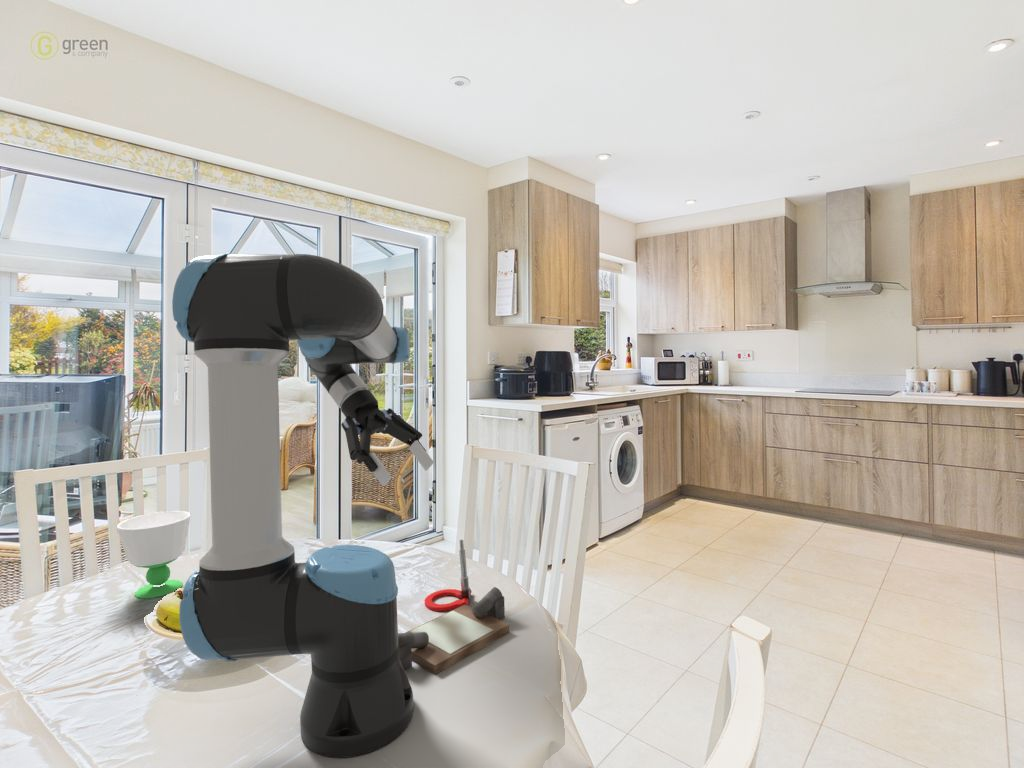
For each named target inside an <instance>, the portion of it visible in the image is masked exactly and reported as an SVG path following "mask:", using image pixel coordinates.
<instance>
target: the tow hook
mask: <svg viewBox="0 0 1024 768" xmlns="http://www.w3.org/2000/svg"><path fill="white" fill-rule="evenodd" d="M464 546H465V545H464V539H459V550H458V552H459V564H460V566H459V567H460V586H461V590H460V589H455V588H454V589H453V588H450V589H449V588H448V589H441V590H437V591H434V592H432V593H430V594H429V595H427V596H426V597H425V599H424V607H425V608H427V610H430V611H436V612H446V611H447V612H448V611H452V610H454V609H456V608H458V607H460V606H463V605H465V604H466V605H468V606H469V603H470V601H471V596H472V589H471V588H470V584H469V583H470V582H469V576H468V569H467V558H466V557H467V556H466V550H465V547H464ZM445 596H453V597H456V598H458V599H456V600H454V601H452V602H449V603H442V604H441V603H435V602H434V600H436V599H438V598H441V597H445Z"/></svg>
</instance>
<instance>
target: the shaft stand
mask: <svg viewBox="0 0 1024 768" xmlns="http://www.w3.org/2000/svg"><path fill="white" fill-rule="evenodd" d="M505 610H506V608H505V596H503V593H502V591H501V590H500V589H499V588H498V587H496V586H494V587H492V588H491V589H490V590H489V591H488V592H487V593H486V594H485V595H484V596H483V597H482V598H481V599H480V600H479V601H478V602H477V603H476V604H475V605H474V606H472V607H471V606H470V605H469V604H468V605H466V604H465V605H463V606H460V607H458V608H455V609H452V610H449V611H447V612H445V613H444V614H441V615H439V616H438V617H436V618H432V619H430V620H429V621H426V622H425V623H423V624H421V625H418V626H417V627H414V628H412V629H410V630H408V631H405V632H398V645H399V658H400V660H401V663H402V665H403V668H404V670H405V671H407V670H408V669H410V668H412V667H413V662H414V663H415V664H417V665H419V666H420V667H422V668H423V669H426V670H427V671H429V672H430V673H432V674H434V675H437V674H439V673H440V672H443V671H444V670H446V669H447V668H449V667H451V666H452V665H455V664H456V663H459V662H460V661H462V660H464V659H465V658H467V657H469V656H470V655H472V654H474V653H476V652H478V651H479V650H481V649H483V648H485V647H486V646H488V645H489V644H492V643H493V642H495V641H497V640H499V639H501V638H502V637H504V636H505V635H507V634H509V633H510V632H511V631H510V624H509V623H508V622H505V621H502V619H504V618H505V616H506V614H505V612H506V611H505Z"/></svg>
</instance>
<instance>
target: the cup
mask: <svg viewBox="0 0 1024 768" xmlns="http://www.w3.org/2000/svg"><path fill="white" fill-rule="evenodd" d="M165 511H166V513H165V512H164V511H157V512H151V513H145V514H142V515H141V514H140V515H137V516H133V517H130V518H127V519H124V520H122V521H121V522H119V523H118V524H117V526H116V530H117V533H118V536H119V539H120V542H121V545H122V547H123V551H124V554H125V558H126V560H127V562H129V563H130V565H132V566H135V567H137V568H144V569H147V571H146V575H145V579H146V582H147V583H149V584H147V585H144V586H141V587H139V589H137V590H136V591H134V597H136V598H138V599H145V600H146V599H154V598H160V597H164V596H168V595H169V594H172V593H174V591H175V590H176V589H178V588H180V589H181V588H182V587H183V586H184V585H183V584H184V583H183V581H181V580H179V579H177V580H176V579H169V578H170V577H171V569H170V567H169V566H168V564H171V563H173V562H174V561H176V560H177V559H178V558H179V557H181V556H182V555H183V553H184V551H185V549H186V543H187V537H188V531H189V525H190V520H191V513H190V512H189V511H185V510H165ZM163 583H165V585H163V586H160V587H153V585H161V584H163ZM175 592H176V591H175Z"/></svg>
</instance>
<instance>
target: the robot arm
mask: <svg viewBox="0 0 1024 768" xmlns="http://www.w3.org/2000/svg"><path fill="white" fill-rule="evenodd" d="M171 303H172V305H171V306H172V308H171V309H172V317H173V321H175V322H176V325H175V326H176V331H178V333H179V335H180V337H182V338H183V339H184V340H186V341H187V342H190V343H193V350H194V351H193V352H194V355H195V356H196V357H197V358H199V360H200V361H202V362H203V363H204V364H205V365H206V367H207V385H208V388H207V389H208V424H209V425H208V426H209V429H208V430H209V467H210V468H209V469H210V470H209V473H210V504H211V505H210V508H211V509H210V510H211V511H210V512H211V518H210V519H211V547H210V549H209V550H208V551H206V553H205V554H204V555H203V556H202V557H201V558H200V559H199V561H198V562H199V566H198V568H199V569H198V570H196V571H194V572H193V573H192V574H191V575H189V577H188V578H187V580H186V582H185V584H184V585H183V586H184V587H183V589H182V596H183V598H182V599H181V600H180V601H179V611H178V612H179V627H180V631H181V635H182V639H183V641H184V644H185V645H186V647H187V648H188V651H190V653H192V654H193V655H195V656H196V657H197V658H199V659H200V660H204V661H226V662H235V661H240V660H246V659H258V658H259V659H260V658H261V659H262V658H269V657H271V658H272V657H280V656H281V657H282V656H283V657H285V656H293V655H310V659H311V674H310V678H309V682H308V685H307V688H306V692H305V696H304V698H303V704H302V706H301V710H300V715H299V720H300V721H299V722H300V725H299V726H300V736H301V740H302V742H303V744H304V745H305V746H306V747H307V748H308V749H309V750H311V751H313V752H314V753H317V754H319V755H322V756H325V757H329V758H347V757H348V758H349V757H355V756H359V755H363V754H367V753H370V752H373V751H376V750H378V749H380V748H382V747H384V746H386V745H388V744H389V743H391V742H392V741H394V740H396V739H397V738H398V736H400V735H401V734H402V733H404V731H405V730H406V729H407V727H408V726H409V725H410V723H411V721H412V718H413V715H414V708H415V707H414V693H413V687H412V686H411V683H410V681H409V678H408V676H407V672H406V670H404V668H403V665H402V663H401V660H400V658H399V645H398V633H399V629H398V628H399V627H398V624H399V623H398V603H397V601H398V599H397V596H398V593H399V587H398V584H397V580H396V579H397V578H396V570H395V565H394V562H393V560H392V559H391V558H390V557H389V555H387V554H386V553H384V552H383V551H381V550H379V549H376V548H373V547H369V546H364V545H357V544H339V545H337V544H336V545H333V546H332V547H329V546H327V547H323V548H320V549H317V550H315V551H313V552H312V553H310V555H309V556H308V557H307V559H306V562H296V555H295V554H296V552H295V547H294V545H292V543H290V542H289V541H288V540H286V539H285V538H284V536H283V518H282V517H283V514H282V482H281V481H282V475H281V470H282V469H281V443H280V442H281V439H280V438H281V436H280V434H281V433H280V432H281V431H280V399H279V396H280V395H279V393H280V392H279V366H280V364H281V363H282V362H283V361H284V360H285V359H286V358H287V357H288V356H289V355H290V341H294V340H295V341H296V342H297V344H298V347H299V350H300V352H301V354H302V356H303V357H304V359H305V362H306V363H307V366H308V368H309V369H310V370H309V371H311V372H312V373H313V374H314V375H315V376H316V378H317V380H318V381H319V382H320V384H322V386H323V387H324V388H325V390H326V392H327V393H328V394H329V396H330V398H332V400H333V401H334V402H335V405H337V407H338V408H339V409H340V411H341V413H342V414H343V415H344V416H345V419H344V420H343V421H342V422H341V424H340V425H341V428H342V429H343V431H344V432H345V438H346V443H347V447H348V453H349V458H350V460H351V461H356V462H357V463H358V464H362V463H363V464H364V466H365V467H366V468H367V470H368V471H370V473H372V474H373V475H374V476H375V479H377V480H378V482H379V483H380V485H381V487H384V486H386V485H387V484H388V483H389V481H390V480H391V479H392V478H393V477H392V475H391V474H390V472H389V471H388V469H387V468H386V467H385V466H384V464H383V463H382V461H381V459H380V458H379V457H378V456H377V454H376V453H375V452H371V439H372V436H373V435H375V434H383V435H389V436H391V437H393V438H395V439H396V440H398V441H400V442H402V443H404V444H406V445H408V446H409V447H408V449H409V451H410V452H411V454H412V455H413V456H414V457H415V459H416V460H417V461H418V463H419V464H420V465H421V467H422V469H424V471H425V472H426V471H428V470H429V469H430V468H431V467H432V466H433V464H434V463H435V461H434V460H433V459H432V457H431V456H430V455H429V454H428V452H427V450H426V448H425V446H423V445H422V443H421V442H420V440H421V438H422V437H423V434H422V433H421V432H420V431H419V430H417V429H416V428H415V427H413V426H412V425H411V424H409V423H408V422H407V421H405V420H404V419H403V418H402V417H400V416H399V415H398V414H397V413H396V412H394V409H392V408H389V407H388V408H387V410H386V411H384V412H383V411H382V410H380V408H379V402H378V399H377V398H376V396H375V395H374V394H373V393H372V392H371V390H369V388H368V386H367V385H366V383H365V382H364V380H363V379H362V378H361V377H360V375H358V373H357V372H356V371H355V369H354V368H353V366H352V365H358V364H359V365H360V364H361V365H362V364H396V363H397V364H398V363H407V362H408V361H409V359H410V355H411V343H410V342H411V341H410V333H409V330H408V328H406V327H400V326H399V327H397V326H391V324H390V322H389V321H388V320H387V318H386V316H385V314H384V304H383V299H382V298H381V295H380V293H379V292H378V290H377V289H376V287H375V286H374V285H373V284H372V283H371V282H370V281H369V280H368V279H367V278H366V277H364V276H363V275H362V274H360V273H359V272H357V271H355V270H353V269H352V268H350V267H348V266H346V265H344V264H341V263H339V262H337V261H335V260H333V259H330V258H326V257H322V256H319V255H313V254H310V253H309V254H306V253H305V254H304V253H295V254H269V253H267V254H265V253H264V254H263V253H262V254H259V253H257V254H253V253H251V254H249V253H248V254H247V253H246V254H245V253H221V254H219V255H203V256H202V255H201V256H198V257H197V256H196V257H195V258H192V259H191V260H190V261H188V262H187V263H186V265H185V266H184V267H182V269H181V270H180V272H179V274H178V276H177V278H176V281H175V283H174V288H173V293H172V302H171ZM358 429H359V432H358Z"/></svg>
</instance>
